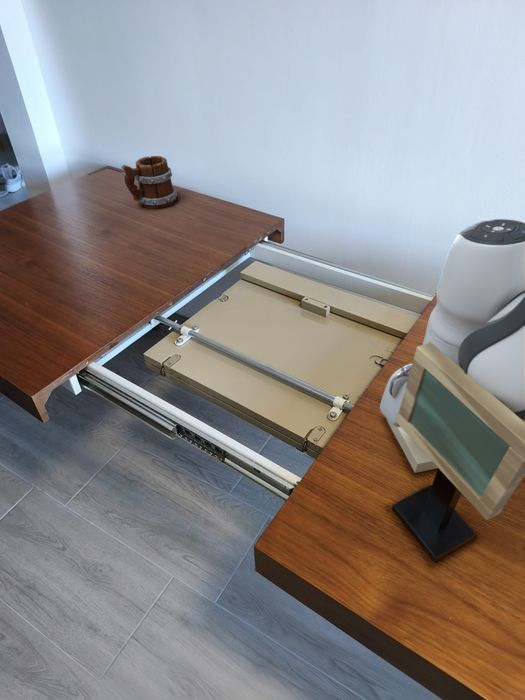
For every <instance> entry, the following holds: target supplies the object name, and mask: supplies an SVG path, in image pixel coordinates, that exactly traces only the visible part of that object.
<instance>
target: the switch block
mask: <svg viewBox="0 0 525 700" xmlns="http://www.w3.org/2000/svg"><path fill="white" fill-rule="evenodd" d="M386 422H387V424H388V425H389V427H390V429H391V431H392V433H393V434H394V437H395V439H396V440H397V442H398V444H399V446H400V448H401V449H402V451H403V454H404V455H405V457H406V458H407V461H408V462H409V465H410V467H411V468H412V470H413V472H414V473H415V474H417V473H421V472H426V471H430V470H435V469H438V467H437V466H436V465H435V464H434V462H433V461H432V460H431V459H430V458H429V457H428V456H427V455H426V454H425V453H424V452H423V450H422V449H421V448H420V447H419V446H418V445H417V444H416V443H415V442H414V441H413V439H412V438H411V437H410V436H409V435H408V434H407V433H406V432H405V431H404V430H403V429H402V427H396V426H395V425H393V424H392V423H391V422H390V421H389V420H388V419H387V418H386Z"/></svg>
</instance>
